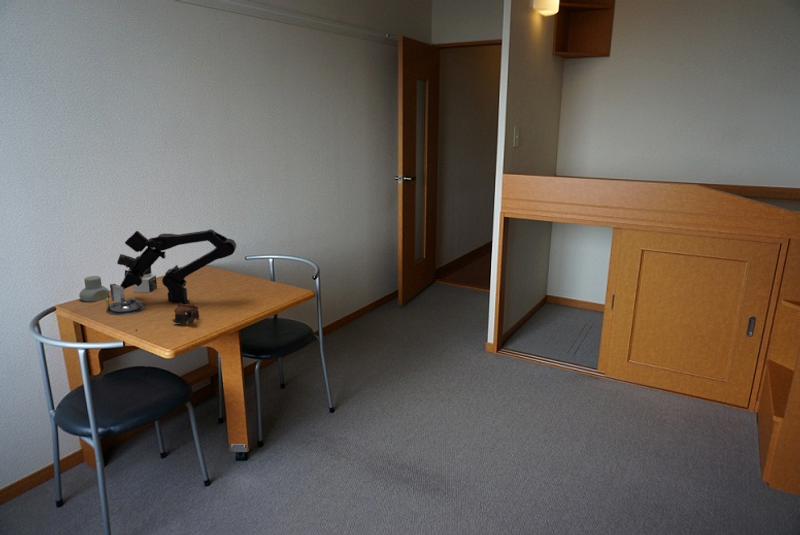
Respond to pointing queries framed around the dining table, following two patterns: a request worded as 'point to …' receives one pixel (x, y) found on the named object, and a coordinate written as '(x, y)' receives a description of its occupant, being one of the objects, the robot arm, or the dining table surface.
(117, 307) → the grey studded disc
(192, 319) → the pottery mug
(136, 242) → the robot arm
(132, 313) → the flange
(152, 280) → the medicine bottle
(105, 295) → the air freshener
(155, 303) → the dining table surface
